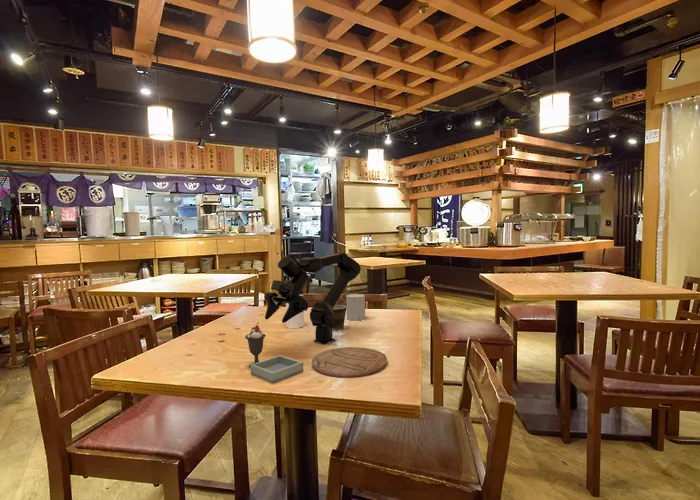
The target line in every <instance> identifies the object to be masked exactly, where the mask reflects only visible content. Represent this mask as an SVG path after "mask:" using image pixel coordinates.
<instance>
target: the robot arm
mask: <svg viewBox="0 0 700 500" xmlns="http://www.w3.org/2000/svg"><path fill="white" fill-rule="evenodd" d="M334 265H336V266H337V268H338V269H339V270H338V274H339V275H338V276H337V279H336V280H335V282H334V284H333V285H332V286H331V287H330V289H329V291H328V292H327V294H326V295H325V297H324V299H323V300H322V301H321V302H319V301H316V302H315V303H314V304H313V306H312V308H311V309H310V313H309V319H310V321H311V325H312V326H313V327H315V330H314V331H315V339H313V342H314V343H319V344H323V345H326V344H329V343H332V342H335V341H336V339H335V338H333V330H332V328H333V327H335V326H336V320H335V319H334V318H333V317H332V315H333V307H334V305H337V304H336V303H337V302H338V300H339V299H340V297H341V295H342V294H343V292H344V291H345V289H346V288H347V285H348V284H349V283H350V282H351V281H352V280H354V279H356V278H357V276H359V274H360V273H361V269H362V268H361V265H360V264H359V262H357V260H355V259H354V258H352V257H351V256H349V255H348V254H347V253H346V252H335V253H333V254H328V255H324V256H320V257H302V258H300V260H299V261H298V260H297V259H296V257H295V255H293V253H292V254H290V253H289V254H287V256H284V257H283V258H281V259H280V260H279V261H278V264H277V267H278V268H279V270H280V271H281V272H282V273H283V274H284V275H285V276H286V277H287V278H291V279H290V280H289V279H285V280H284V281H283V280H277V279H276V280H275V279H274V280H272V284H271V286H270V290H272V291H273V290H274V292H272V291H268V292H266V293H265V295H264V298H265V301H266V302H267V307H266V311H265V315H264V319H265V320H269V319H270V318H271V317H272V316H273V315H274V314H275V313H276V312H277V311H278V310H279V309H280V308H281V307H280V306H282V304H286V303H288V304H289V308H288V310H287V311H286V310H285V313H284V315H283V317H282V319H281V322H282V324H285V323H287V322H286V321H288V320H289V319H291V318H292V317H294V316H296V315H297V314H299V313H301V312H303V310H304V312H307V311H308V310H309V307H310V303H309V301H308V300H307V299H306V298H305V297H304V291H303V290H304V288H305V286H306V284H307V283H309V284H312V283H313V281H314V280H313V278H312V275H309V274H315V273H318V272H320V271H321V270H322V269H323V268H325V267H329V266H334ZM275 291H277V292H275ZM300 294H301V295H302V294H303V296H300Z"/></svg>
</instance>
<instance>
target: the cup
mask: <svg viewBox="0 0 700 500" xmlns="http://www.w3.org/2000/svg"><path fill="white" fill-rule="evenodd" d="M300 296H303V297H304V293H303V294H302V295H301V294H300ZM288 308H289V304H288V303H285V312H286V311H287V310H288ZM304 312H305V311H304V310H303V312H301V313H299V314H297V315H296V316H294V317H292V318H291V319H289V320H288V321H286V322H285V323H286V328H287V327H288V329H290V328H296V329H301V328H300V327H302V328H304V327H305V315H304V314H305V313H304ZM303 326H304V327H303Z"/></svg>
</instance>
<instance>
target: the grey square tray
mask: <svg viewBox="0 0 700 500" xmlns="http://www.w3.org/2000/svg"><path fill="white" fill-rule="evenodd" d="M250 364H251V365H250ZM250 364H249V365H250V367H249V368H250V375H252V376H254V377H256V378H258V379H260V380H261V379H262V380H263V381H265V382H269V383H270V384H276V383H278V382H281V381H284V380H286V379H289V378H291V377H293V376H296V375H299V374H301V373H303V372H304V361H301V360H297V359H294V358H291V357H287V356H284V355H280V354H279V355H277V356H276V355H275V356H273V357H270V358H268V359H264V360H261V361H259V362H258V363H255V364H252V363H250Z"/></svg>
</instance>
